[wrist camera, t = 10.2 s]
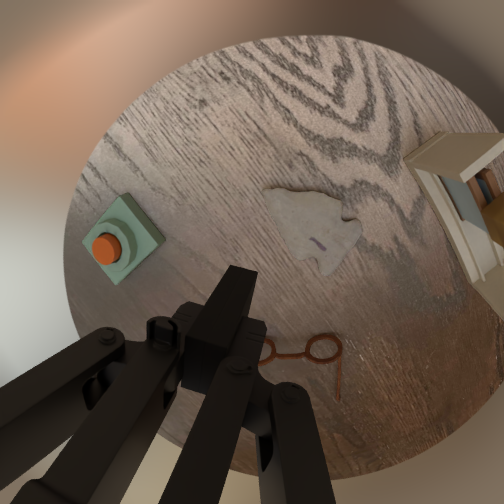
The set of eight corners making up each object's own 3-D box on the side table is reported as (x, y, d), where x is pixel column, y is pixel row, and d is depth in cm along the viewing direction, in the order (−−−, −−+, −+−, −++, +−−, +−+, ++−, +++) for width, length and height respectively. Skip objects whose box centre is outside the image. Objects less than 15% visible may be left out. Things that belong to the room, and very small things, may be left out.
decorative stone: (323, 272, 37) (328, 284, 34) (241, 218, 35) (239, 227, 32) (366, 219, 34) (374, 227, 32) (283, 158, 32) (285, 160, 29)
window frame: (402, 159, 30) (457, 171, 17) (439, 131, 28) (507, 130, 15) (467, 281, 33) (518, 341, 20) (499, 256, 31) (558, 305, 18)
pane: (430, 175, 27) (493, 197, 16) (462, 150, 26) (533, 161, 14) (460, 232, 29) (521, 278, 17) (490, 208, 27) (557, 243, 15)
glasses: (341, 331, 38) (343, 354, 34) (340, 398, 42) (341, 422, 38) (243, 336, 41) (235, 359, 37) (257, 401, 45) (251, 423, 41)
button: (95, 244, 37) (87, 248, 35) (109, 227, 35) (101, 231, 34) (111, 265, 37) (104, 270, 36) (126, 249, 36) (119, 254, 34)
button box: (90, 237, 41) (73, 246, 37) (128, 192, 37) (111, 198, 34) (123, 279, 42) (108, 291, 38) (166, 239, 38) (151, 250, 35)
